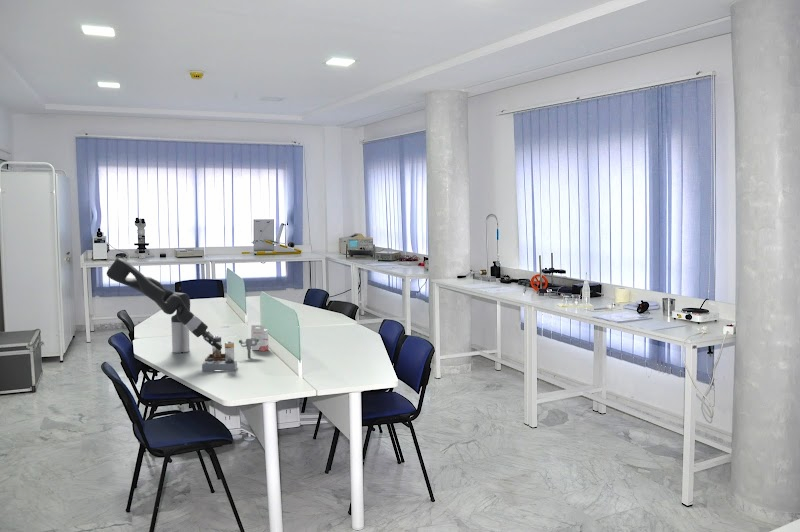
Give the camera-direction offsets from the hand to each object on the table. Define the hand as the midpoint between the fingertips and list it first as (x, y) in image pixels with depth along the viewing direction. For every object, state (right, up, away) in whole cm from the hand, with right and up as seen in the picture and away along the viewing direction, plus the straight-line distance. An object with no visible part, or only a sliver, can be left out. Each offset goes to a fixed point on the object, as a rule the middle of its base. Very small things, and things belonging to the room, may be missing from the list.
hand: (220, 348), depth 333 cm
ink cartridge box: (+14, -5, +31) cm, 34 cm away
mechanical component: (+12, -7, +14) cm, 19 cm away
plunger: (-2, -9, -12) cm, 16 cm away
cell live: (+8, -6, -12) cm, 15 cm away
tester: (+3, -9, -12) cm, 15 cm away
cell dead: (-2, -4, 0) cm, 5 cm away
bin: (-2, -8, +1) cm, 8 cm away
